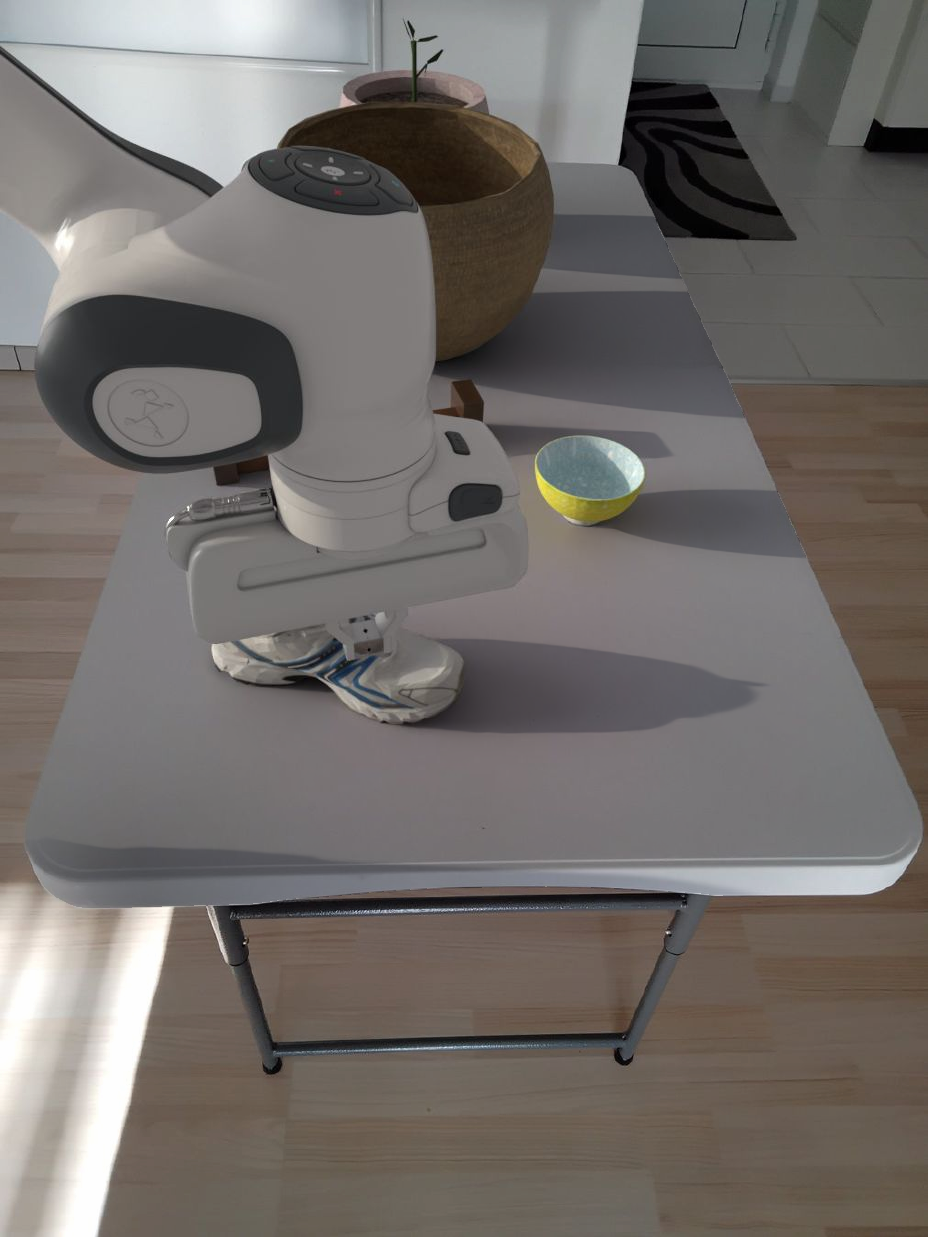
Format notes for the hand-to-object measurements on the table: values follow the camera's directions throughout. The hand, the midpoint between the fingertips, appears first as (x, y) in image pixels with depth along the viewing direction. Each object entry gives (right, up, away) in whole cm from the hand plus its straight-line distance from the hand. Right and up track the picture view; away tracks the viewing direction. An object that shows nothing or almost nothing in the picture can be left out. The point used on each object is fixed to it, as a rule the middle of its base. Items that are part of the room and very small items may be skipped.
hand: (366, 649), depth 60 cm
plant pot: (-2, +64, +89) cm, 110 cm away
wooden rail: (-7, +21, +46) cm, 51 cm away
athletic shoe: (-5, -3, +22) cm, 23 cm away
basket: (-1, +41, +66) cm, 77 cm away
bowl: (+19, +13, +40) cm, 46 cm away
